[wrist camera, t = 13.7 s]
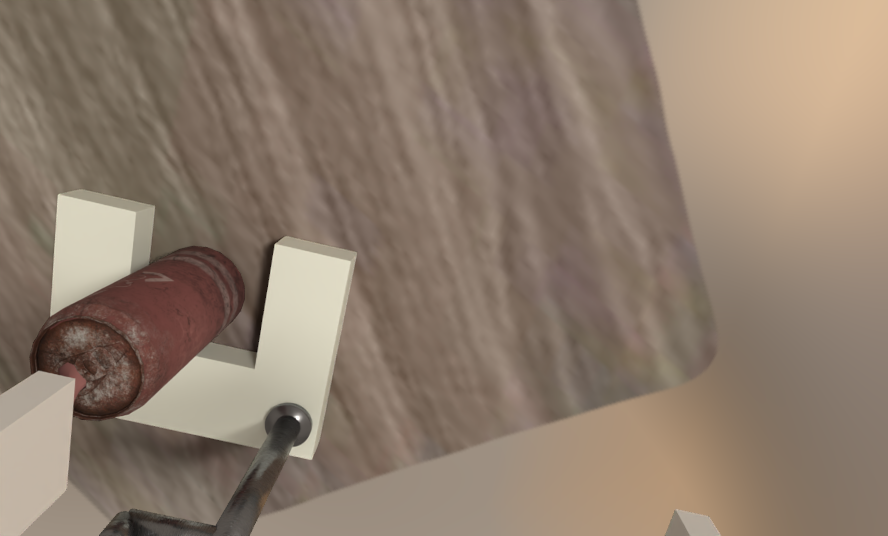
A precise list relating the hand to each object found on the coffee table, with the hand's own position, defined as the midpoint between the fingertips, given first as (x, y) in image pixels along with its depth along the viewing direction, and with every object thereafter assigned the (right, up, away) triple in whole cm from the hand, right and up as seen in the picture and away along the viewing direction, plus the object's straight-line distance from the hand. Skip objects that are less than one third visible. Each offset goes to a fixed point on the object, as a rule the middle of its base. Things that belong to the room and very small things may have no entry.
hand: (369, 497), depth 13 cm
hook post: (-11, -5, +29) cm, 31 cm away
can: (-15, +4, +29) cm, 33 cm away
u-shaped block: (-15, +1, +30) cm, 33 cm away
